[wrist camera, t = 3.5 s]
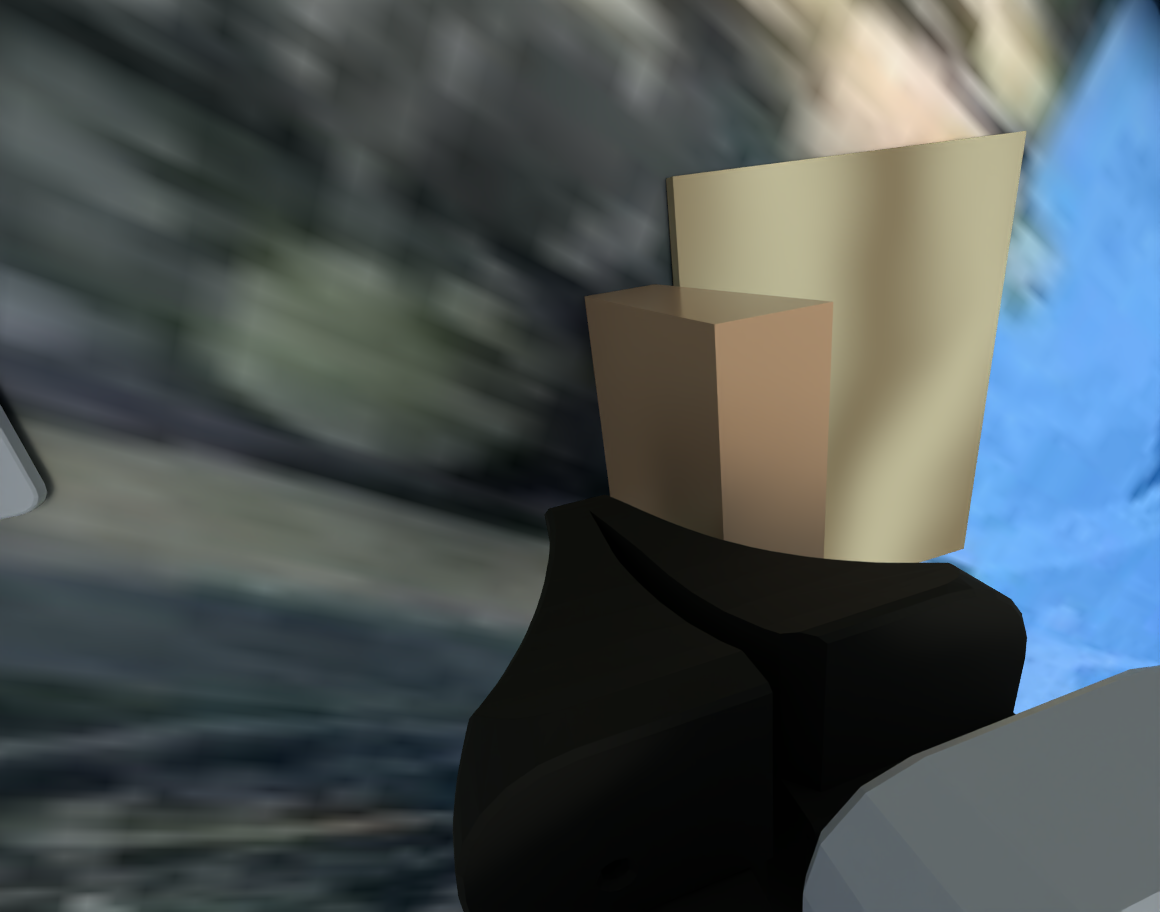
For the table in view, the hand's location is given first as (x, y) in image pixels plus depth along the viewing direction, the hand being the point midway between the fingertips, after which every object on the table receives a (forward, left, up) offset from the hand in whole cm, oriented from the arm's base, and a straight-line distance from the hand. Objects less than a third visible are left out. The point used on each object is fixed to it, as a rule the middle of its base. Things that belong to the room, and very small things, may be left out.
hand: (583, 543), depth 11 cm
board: (+10, 0, -4) cm, 11 cm away
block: (+3, 0, -4) cm, 5 cm away
